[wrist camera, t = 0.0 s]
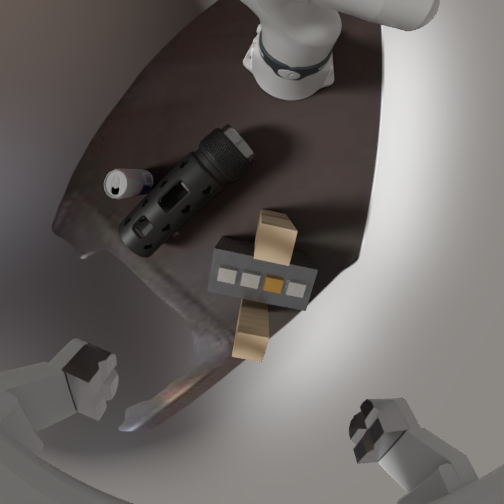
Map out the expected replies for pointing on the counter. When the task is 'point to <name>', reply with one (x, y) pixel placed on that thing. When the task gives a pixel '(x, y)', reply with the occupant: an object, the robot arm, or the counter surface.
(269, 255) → the oak post
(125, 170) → the energy drink
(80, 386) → the robot arm
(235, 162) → the muzzle brake
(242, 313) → the oak post
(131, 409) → the counter surface
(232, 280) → the button box
